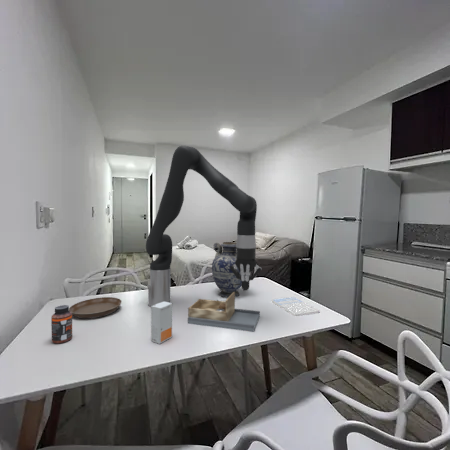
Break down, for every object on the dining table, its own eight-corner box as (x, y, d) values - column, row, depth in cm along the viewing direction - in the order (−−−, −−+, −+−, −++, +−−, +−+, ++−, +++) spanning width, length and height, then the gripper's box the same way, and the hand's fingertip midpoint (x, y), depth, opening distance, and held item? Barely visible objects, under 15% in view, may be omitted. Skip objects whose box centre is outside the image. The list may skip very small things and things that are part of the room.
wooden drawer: (188, 318, 103) (188, 297, 102) (199, 308, 114) (199, 288, 114) (227, 323, 98) (227, 300, 98) (234, 311, 110) (234, 291, 109)
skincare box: (159, 344, 84) (159, 308, 84) (150, 341, 87) (150, 305, 86) (172, 337, 89) (172, 303, 89) (163, 334, 92) (163, 300, 91)
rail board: (187, 323, 101) (187, 317, 101) (201, 309, 116) (201, 305, 115) (253, 331, 94) (253, 325, 94) (259, 316, 108) (259, 311, 108)
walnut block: (218, 313, 106) (218, 306, 106) (221, 310, 110) (221, 303, 110) (228, 314, 105) (228, 307, 105) (230, 311, 109) (230, 304, 109)
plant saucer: (64, 324, 100) (64, 316, 100) (73, 307, 120) (73, 300, 120) (121, 316, 108) (121, 309, 108) (121, 301, 127) (121, 295, 127)
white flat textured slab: (294, 317, 108) (294, 313, 108) (271, 302, 127) (271, 298, 127) (320, 313, 113) (321, 309, 113) (294, 299, 132) (294, 296, 131)
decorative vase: (202, 295, 137) (203, 242, 136) (222, 287, 152) (223, 240, 151) (236, 303, 125) (237, 245, 124) (254, 294, 140) (256, 242, 139)
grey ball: (215, 318, 101) (215, 311, 101) (217, 315, 104) (217, 308, 104) (223, 319, 100) (223, 311, 100) (225, 316, 103) (225, 309, 103)
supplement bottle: (69, 343, 85) (69, 309, 85) (48, 345, 84) (48, 310, 83) (74, 335, 91) (74, 303, 91) (55, 337, 89) (54, 304, 89)
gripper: (227, 246, 100) (226, 291, 100) (261, 248, 96) (260, 294, 97) (232, 244, 107) (231, 286, 108) (264, 246, 103) (263, 288, 104)
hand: (245, 290), depth 102 cm, fingers closed
